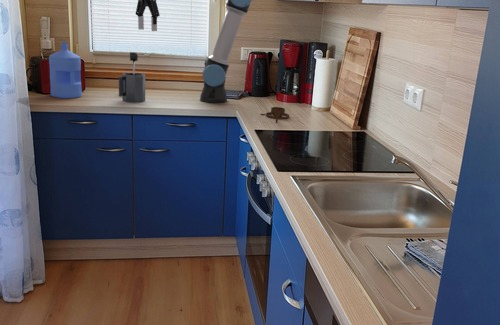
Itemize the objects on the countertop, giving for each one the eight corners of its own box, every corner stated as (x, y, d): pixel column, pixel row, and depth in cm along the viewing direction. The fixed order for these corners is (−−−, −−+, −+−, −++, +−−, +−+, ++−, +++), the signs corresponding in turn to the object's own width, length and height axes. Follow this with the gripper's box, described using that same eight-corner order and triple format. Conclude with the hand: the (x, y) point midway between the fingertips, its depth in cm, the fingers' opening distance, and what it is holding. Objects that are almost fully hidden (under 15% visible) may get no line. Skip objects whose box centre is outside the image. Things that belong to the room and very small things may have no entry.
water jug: (45, 94, 270) (42, 40, 261) (72, 92, 281) (70, 40, 273) (60, 99, 260) (57, 43, 252) (87, 97, 272) (86, 43, 263)
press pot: (138, 98, 278) (138, 72, 273) (148, 102, 270) (148, 75, 265) (114, 99, 269) (114, 73, 265) (124, 103, 261) (124, 76, 257)
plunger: (137, 90, 274) (137, 51, 268) (144, 92, 268) (144, 53, 262) (123, 90, 269) (123, 51, 263) (130, 93, 263) (130, 53, 257)
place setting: (298, 119, 256) (299, 107, 254) (278, 125, 240) (279, 112, 238) (269, 113, 265) (270, 102, 263) (247, 118, 249) (248, 106, 247)
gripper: (128, -14, 261) (129, 28, 267) (152, -14, 243) (153, 31, 249) (141, -14, 266) (142, 28, 272) (166, -14, 247) (166, 31, 254)
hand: (147, 30), depth 260 cm, fingers open, 13 cm apart
